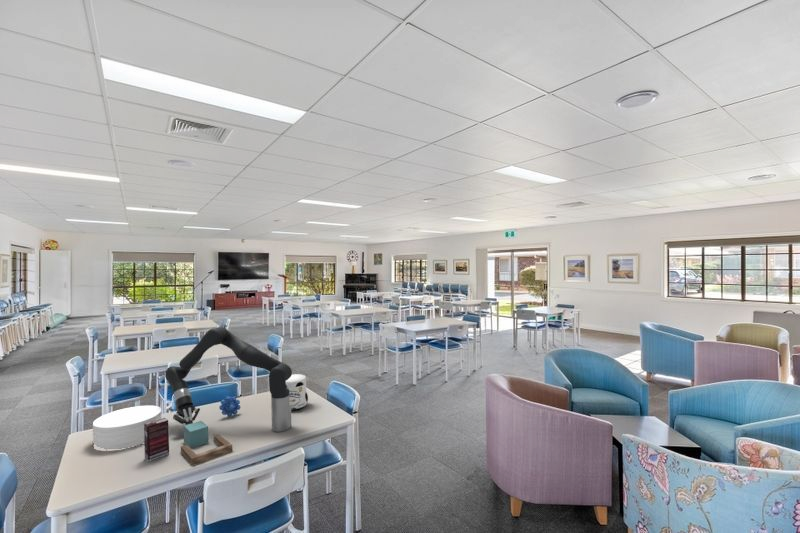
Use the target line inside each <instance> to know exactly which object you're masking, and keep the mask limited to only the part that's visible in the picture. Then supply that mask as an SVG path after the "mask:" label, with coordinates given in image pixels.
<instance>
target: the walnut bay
mask: <svg viewBox="0 0 800 533" xmlns="http://www.w3.org/2000/svg"><path fill="white" fill-rule="evenodd" d="M213 442H214V443H215V445H216V446H217V447H215V448H211V449H209V450H206V451H204V452H201V453H196V452H195V451H194V450H192V448H190V447H189V446H188V445H187V444H183V445H181V446H180V454H181V455H182V456H183V457H184V459H186V461H187V462H188V463H189V462H190V463H191V464H190V463H189V464H190V465H191V466H192V465H193V466H196V465H199V464H200V463H204V462H207V461H209V460H213V459H215V458H218V457H220V456H224V455H227V454H229V453H231V452H233V444H232V443H231V442H230V441H229V440H227V439H226V438H225V437H223V436H222V435H221V434H219V433H218V434H216V435H213ZM195 464H196V465H195Z"/></svg>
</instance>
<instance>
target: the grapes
mask: <svg viewBox="0 0 800 533" xmlns="http://www.w3.org/2000/svg"><path fill="white" fill-rule="evenodd" d="M240 403H241V401H240V400H239V399H237V397H236V396H234V395H233V396H228V395H227V396H225V398H224V399H222V400H220V404H221V405H220V406H219V410H221V414H222V415H223V416H225V415H226V416H227V417H230V418H231V417H232V416H233V415H234V416H235V415H237V414H238V411H239V410H240V409H241V405H240Z"/></svg>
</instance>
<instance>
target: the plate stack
mask: <svg viewBox="0 0 800 533" xmlns="http://www.w3.org/2000/svg"><path fill="white" fill-rule="evenodd" d="M159 419H162V408H161V406H158V405H136V406H131V407H124V408H121V409H117V410H114V411H113V410H112V411H111V412H108V413H105V414H103V415H101V416H99V417H98V418H96V419H95V420H93V423H92V432H93V433H92V443H94V444H95V445H96V446H97V447H100V448H104V449H106V450H107V449H122V448H128V447H132V446H136V447H138V446H137V445H139V446H141V445H140V444H142V445H144V444H143V443H144V424H145V423H149V422H152V421H156V420H159Z"/></svg>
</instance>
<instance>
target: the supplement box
mask: <svg viewBox="0 0 800 533" xmlns="http://www.w3.org/2000/svg"><path fill="white" fill-rule="evenodd" d="M169 434H170V433H169V420H168V419H167V418H166V417H164V418H161V419H159V420H156V421H152V422H149V423H145V424H144V443H145V444H144V459H145V460H146V461H147V460H148V461H149V462H151V461H154V460H157V459H160V458H163V457H165V456H167V455H169V454H170V438H169V437H170V435H169ZM159 457H160V458H159ZM156 458H157V459H156ZM150 460H151V461H150ZM148 461H147V462H148Z"/></svg>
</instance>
